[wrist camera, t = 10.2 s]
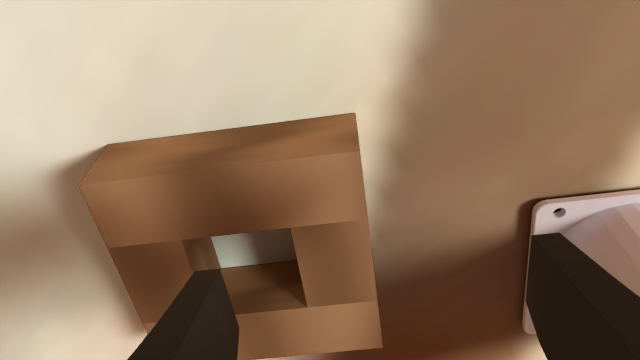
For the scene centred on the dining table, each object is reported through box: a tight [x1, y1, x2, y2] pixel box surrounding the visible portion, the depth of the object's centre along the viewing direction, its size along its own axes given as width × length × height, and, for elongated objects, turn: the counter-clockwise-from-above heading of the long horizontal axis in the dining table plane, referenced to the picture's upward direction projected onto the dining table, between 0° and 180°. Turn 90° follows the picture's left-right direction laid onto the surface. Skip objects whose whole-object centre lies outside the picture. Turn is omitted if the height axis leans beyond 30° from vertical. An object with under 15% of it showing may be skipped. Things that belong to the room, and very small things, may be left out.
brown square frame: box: [78, 113, 383, 360], centre depth 22 cm, size 10×10×3 cm
